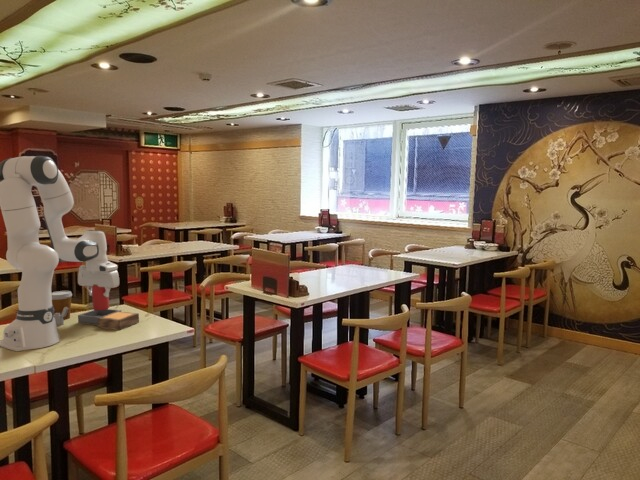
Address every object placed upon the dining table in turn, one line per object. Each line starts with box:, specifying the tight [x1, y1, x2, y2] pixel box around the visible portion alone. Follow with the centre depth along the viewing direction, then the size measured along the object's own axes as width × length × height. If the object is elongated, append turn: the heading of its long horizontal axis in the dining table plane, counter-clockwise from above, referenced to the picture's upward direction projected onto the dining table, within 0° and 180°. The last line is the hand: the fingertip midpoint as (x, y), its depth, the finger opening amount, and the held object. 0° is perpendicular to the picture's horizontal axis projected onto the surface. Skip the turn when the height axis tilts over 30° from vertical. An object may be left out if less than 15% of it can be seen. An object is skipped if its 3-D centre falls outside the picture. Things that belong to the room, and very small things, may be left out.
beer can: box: [91, 284, 110, 311], centre depth 216 cm, size 7×7×12 cm
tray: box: [77, 308, 122, 326], centre depth 217 cm, size 13×13×4 cm
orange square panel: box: [103, 311, 134, 320], centre depth 209 cm, size 9×9×1 cm
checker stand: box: [97, 311, 140, 331], centre depth 210 cm, size 12×12×4 cm
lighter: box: [53, 307, 69, 327], centre depth 209 cm, size 7×2×8 cm, turn 83°
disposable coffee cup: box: [51, 290, 73, 321], centre depth 219 cm, size 10×10×12 cm
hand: (99, 296), depth 216 cm, fingers closed on beer can, 6 cm apart
